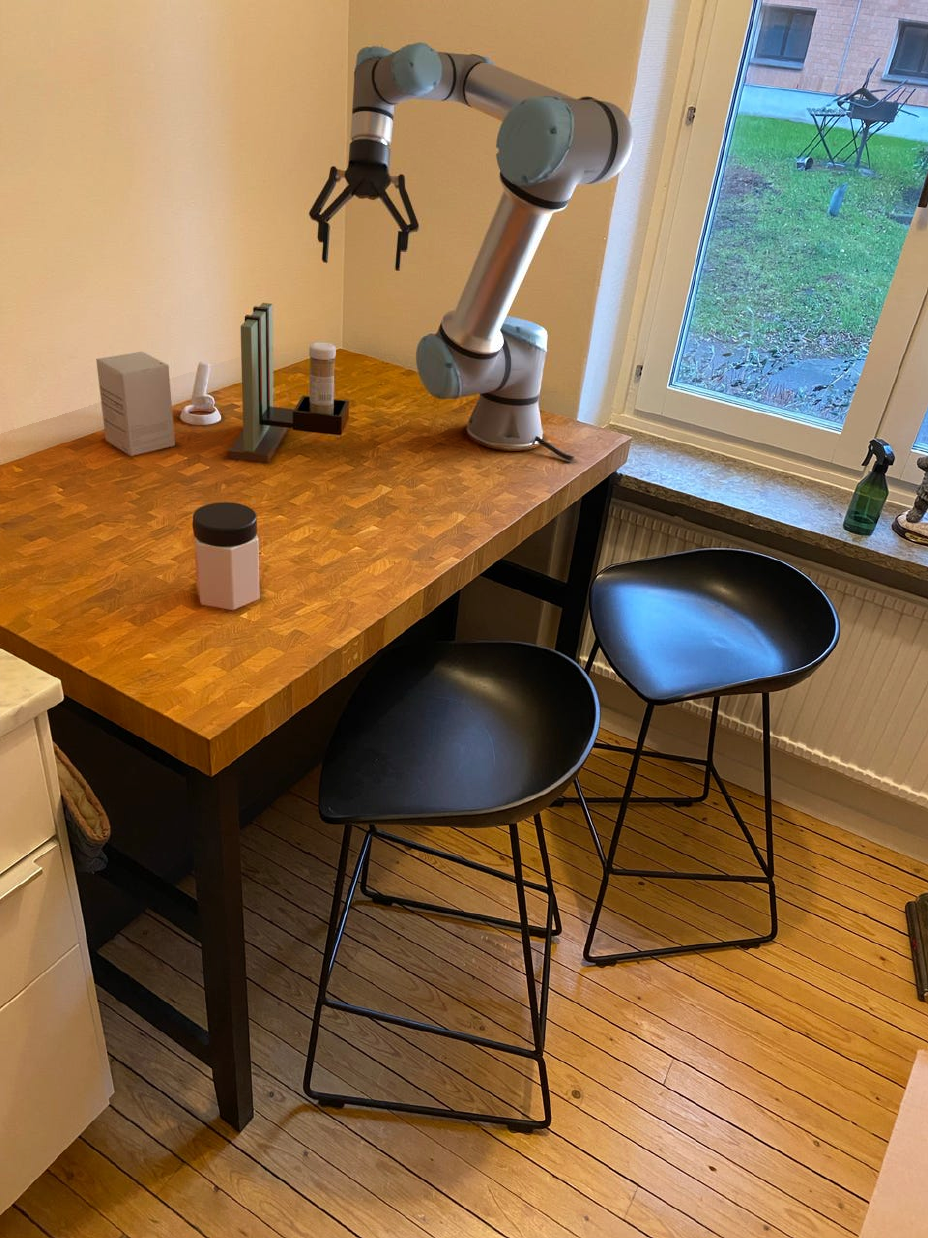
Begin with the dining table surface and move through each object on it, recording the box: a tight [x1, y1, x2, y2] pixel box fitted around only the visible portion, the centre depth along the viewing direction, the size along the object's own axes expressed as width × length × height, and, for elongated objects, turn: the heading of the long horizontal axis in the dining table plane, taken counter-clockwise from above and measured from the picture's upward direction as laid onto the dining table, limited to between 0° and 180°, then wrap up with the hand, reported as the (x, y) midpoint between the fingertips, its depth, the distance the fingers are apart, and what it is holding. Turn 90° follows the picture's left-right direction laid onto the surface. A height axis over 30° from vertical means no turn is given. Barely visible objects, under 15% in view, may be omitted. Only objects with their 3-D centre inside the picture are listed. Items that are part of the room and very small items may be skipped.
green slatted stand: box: [227, 302, 289, 464], centre depth 167 cm, size 7×17×24 cm, turn 177°
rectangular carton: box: [95, 351, 176, 457], centre depth 164 cm, size 9×9×15 cm
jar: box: [191, 501, 261, 611], centre depth 125 cm, size 9×8×12 cm
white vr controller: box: [179, 361, 222, 426], centre depth 181 cm, size 8×12×7 cm
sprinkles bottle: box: [308, 341, 337, 415], centre depth 167 cm, size 5×5×14 cm
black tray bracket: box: [244, 305, 350, 437], centre depth 166 cm, size 17×9×19 cm, turn 87°
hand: (361, 265), depth 175 cm, fingers open, 13 cm apart
